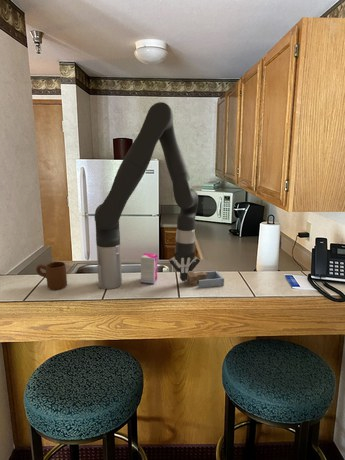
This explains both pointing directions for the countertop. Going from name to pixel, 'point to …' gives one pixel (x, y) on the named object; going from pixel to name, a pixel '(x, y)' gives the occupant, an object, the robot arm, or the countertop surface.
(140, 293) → the countertop surface
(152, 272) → the supplement box
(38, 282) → the countertop surface
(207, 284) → the pocket fence
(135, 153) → the robot arm
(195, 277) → the tee
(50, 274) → the mug
